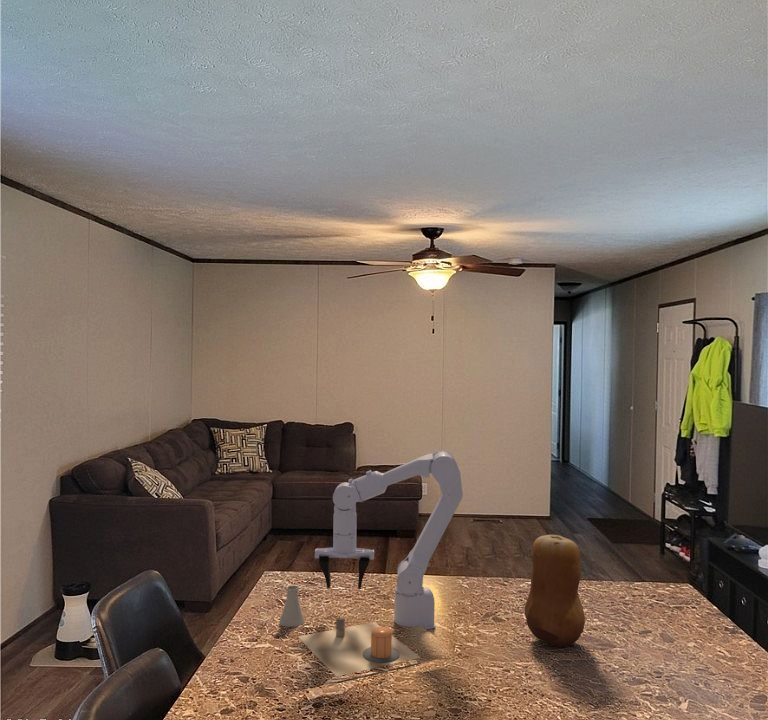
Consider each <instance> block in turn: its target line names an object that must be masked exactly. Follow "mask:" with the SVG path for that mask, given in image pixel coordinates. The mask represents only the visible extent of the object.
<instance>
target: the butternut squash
mask: <svg viewBox="0 0 768 720" xmlns="http://www.w3.org/2000/svg"><path fill="white" fill-rule="evenodd" d="M530 554H531V555H530V556H531V569H530V590H529V592H528V596H527V599H526V602H525V604H524V605H525V606H524V614H525V615H524V616H525V620H526V624H527V627H528V629H529V631H530V632H531V633H532V635H533V636H534V637H535V638H536V639H538V640H540V641H543V642H544V643H547V645H549V646H550V647H555V648H560V649H561V648H563V647H565V646H570V645H573V644H575V643H576V642H577V641H578V640H579V639H580V638H581V635H582V634H583V632H584V628H585V624H586V617H585V611H584V607H583V604H582V602H581V599H580V595H579V586H580V583H581V577H582V576H581V575H582V566H581V565H582V563H581V561H582V560H581V551H580V548H579V546H578V544H577V543H576V542H575V541H573V540H571V539H569V538H566V537H565V536H561V535H558V534H547V535H546V534H545V535H541V536H539V537H537V538H536V539H535V540H534V542H533V544H532V546H531V552H530Z"/></svg>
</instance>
